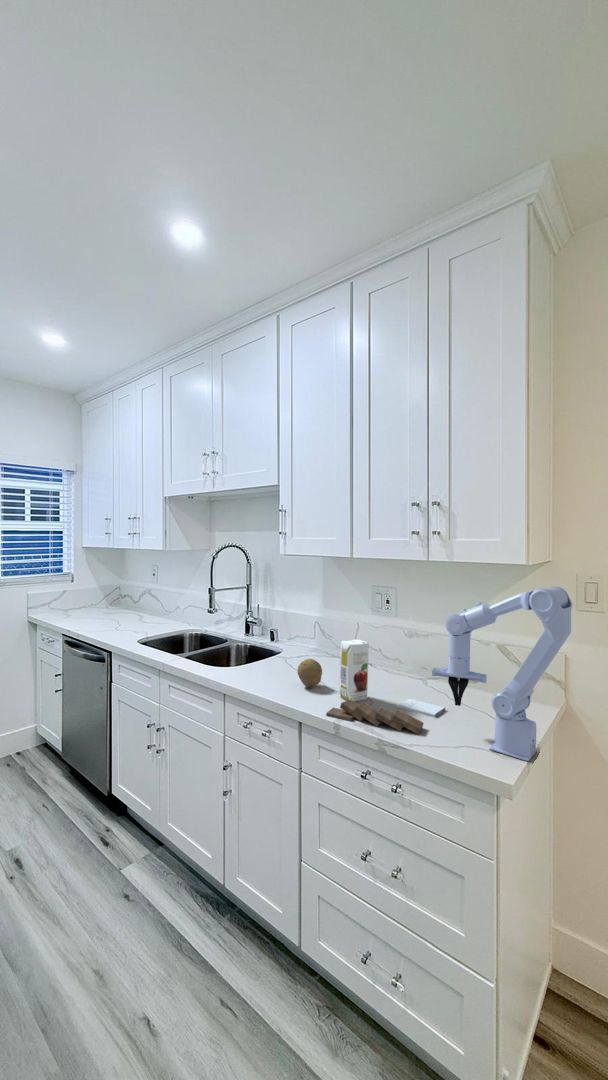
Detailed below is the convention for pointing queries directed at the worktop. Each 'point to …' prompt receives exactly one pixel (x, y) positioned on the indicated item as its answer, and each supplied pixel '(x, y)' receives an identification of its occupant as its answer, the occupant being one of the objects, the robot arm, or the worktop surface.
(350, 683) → the juice carton
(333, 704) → the worktop surface
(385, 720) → the domino
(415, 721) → the domino
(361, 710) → the domino
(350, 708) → the domino
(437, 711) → the external hard drive
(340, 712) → the domino
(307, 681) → the brown round lump
